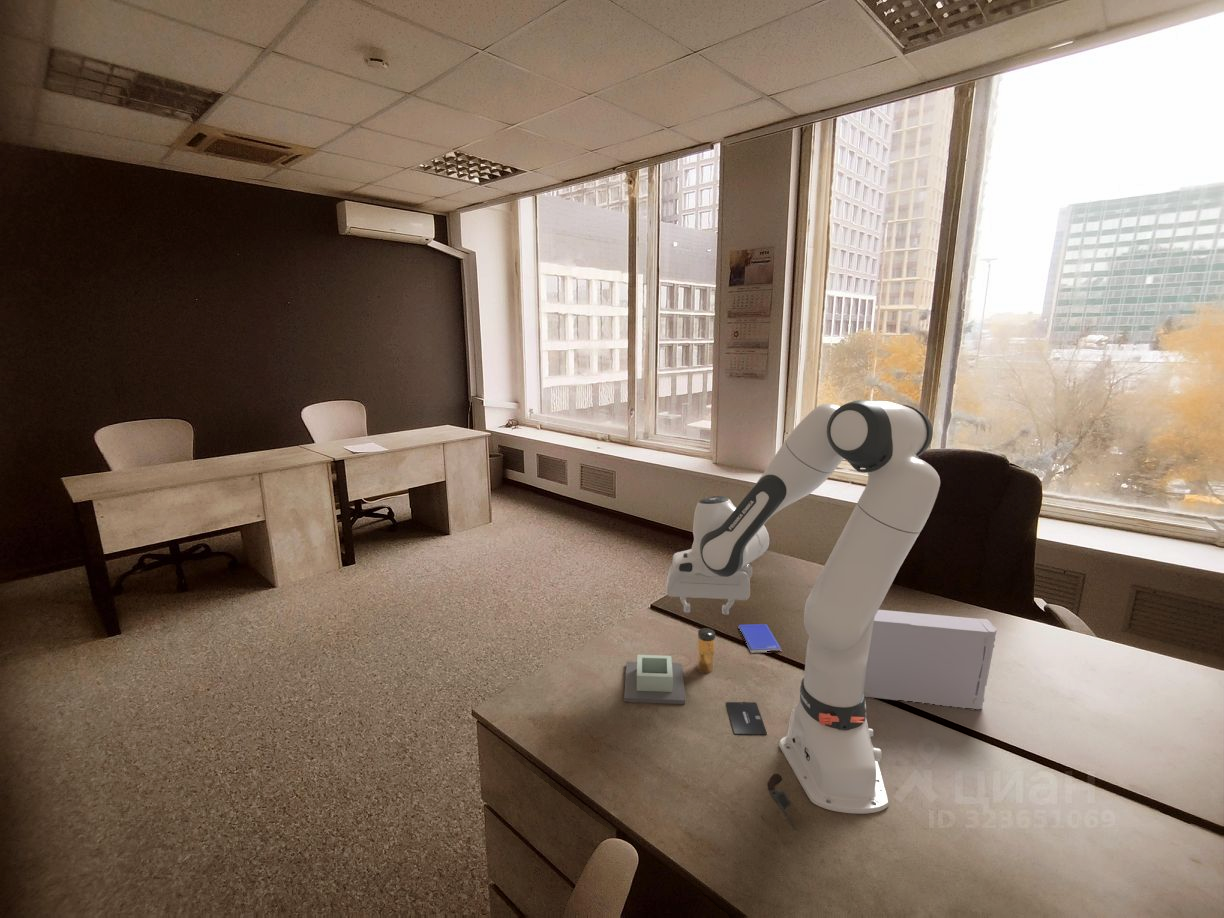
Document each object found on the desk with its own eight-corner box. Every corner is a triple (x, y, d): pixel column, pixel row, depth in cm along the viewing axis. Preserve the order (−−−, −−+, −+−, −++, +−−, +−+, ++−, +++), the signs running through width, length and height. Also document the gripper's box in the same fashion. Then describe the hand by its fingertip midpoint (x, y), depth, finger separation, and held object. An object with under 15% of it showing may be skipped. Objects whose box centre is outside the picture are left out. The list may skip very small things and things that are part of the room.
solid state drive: (756, 704, 126) (756, 702, 125) (767, 736, 116) (767, 734, 116) (725, 704, 126) (725, 702, 126) (734, 736, 116) (734, 733, 116)
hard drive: (781, 648, 145) (766, 623, 157) (751, 649, 145) (738, 624, 157) (781, 653, 145) (766, 628, 157) (750, 654, 145) (738, 629, 157)
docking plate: (685, 704, 125) (685, 685, 124) (624, 701, 126) (624, 682, 125) (681, 667, 139) (682, 649, 138) (626, 665, 140) (626, 647, 139)
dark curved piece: (760, 778, 105) (760, 775, 105) (779, 775, 106) (779, 772, 106) (801, 845, 92) (801, 842, 92) (822, 840, 93) (822, 837, 93)
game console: (985, 712, 122) (1000, 633, 118) (856, 696, 128) (865, 620, 123) (974, 695, 128) (988, 619, 123) (850, 681, 133) (859, 607, 128)
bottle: (714, 673, 136) (716, 637, 134) (697, 672, 137) (699, 637, 134) (712, 663, 140) (714, 628, 138) (696, 662, 141) (697, 627, 138)
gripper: (750, 557, 134) (746, 607, 138) (667, 553, 135) (664, 603, 139) (755, 568, 128) (750, 621, 132) (668, 564, 129) (665, 616, 133)
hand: (706, 612), depth 135 cm, fingers open, 8 cm apart
